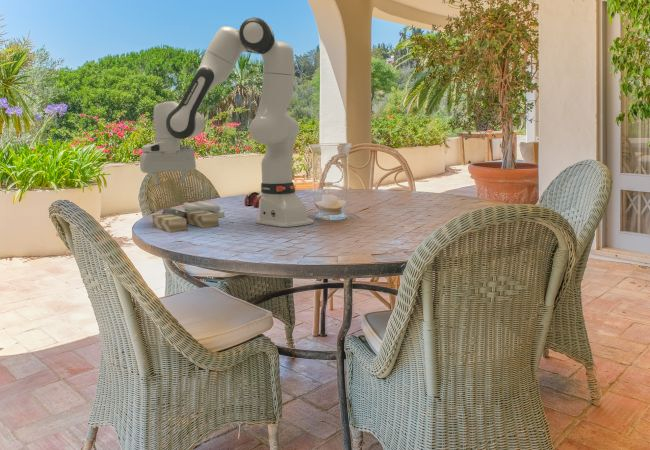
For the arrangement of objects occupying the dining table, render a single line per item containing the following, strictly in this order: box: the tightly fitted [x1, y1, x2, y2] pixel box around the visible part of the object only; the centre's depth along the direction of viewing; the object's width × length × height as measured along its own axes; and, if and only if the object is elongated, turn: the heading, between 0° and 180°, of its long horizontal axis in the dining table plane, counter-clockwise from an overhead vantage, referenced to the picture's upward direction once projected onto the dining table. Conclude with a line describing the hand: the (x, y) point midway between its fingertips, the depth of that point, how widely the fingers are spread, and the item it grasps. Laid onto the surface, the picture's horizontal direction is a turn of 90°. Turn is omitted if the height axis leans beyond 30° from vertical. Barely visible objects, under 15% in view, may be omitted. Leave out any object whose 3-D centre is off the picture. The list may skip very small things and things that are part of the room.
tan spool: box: [151, 210, 220, 233], centre depth 203 cm, size 16×18×4 cm
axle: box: [161, 207, 187, 221], centre depth 211 cm, size 12×5×5 cm, turn 37°
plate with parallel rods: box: [179, 200, 225, 219], centre depth 224 cm, size 16×12×5 cm
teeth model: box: [244, 191, 262, 209], centre depth 251 cm, size 8×6×12 cm
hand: (169, 183), depth 210 cm, fingers open, 8 cm apart
